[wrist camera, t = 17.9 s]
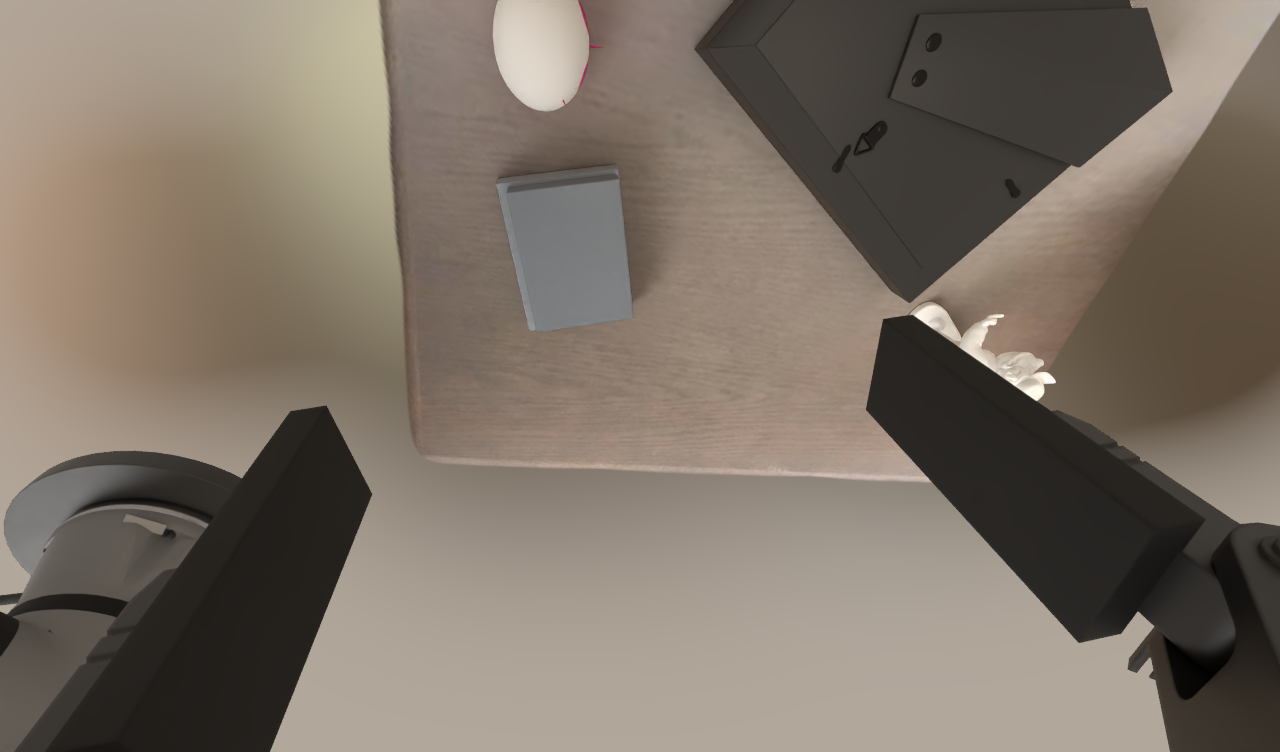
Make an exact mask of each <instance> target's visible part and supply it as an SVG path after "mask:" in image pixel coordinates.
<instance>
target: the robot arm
mask: <svg viewBox="0 0 1280 752" xmlns="http://www.w3.org/2000/svg"><path fill="white" fill-rule="evenodd" d="M866 410H867V411H868V413H869V414H870V415H871V416H872V417H873V418H874V419H875V420H876V421H877V422H878V423H879V425H880V426H881V427H882V428H883V429H884V430H885V431H886V432H887V433H888V434H889V436H890V437H891V438H892V439H893V440H894V441H895V442H896V443H897V444H898V445H899V446H900V448H901V449H902V450H903V451H904V452H905V453H906V454H907V455H908V456H909V457H910V459H911V460H912V461H913V462H914V463H915V464H916V465H917V466H918V467H919V468H920V469H921V471H922V472H923V473H924V474H925V475H926V476H927V477H928V478H929V479H930V480H931V482H932V483H933V484H934V485H935V486H936V487H937V488H938V489H939V490H940V491H941V492H942V494H943V495H944V496H945V497H946V498H947V499H948V500H949V501H950V502H951V503H952V505H953V506H954V507H955V508H956V509H957V510H958V511H959V512H960V513H961V514H962V515H963V516H964V518H965V519H966V520H967V521H968V522H969V523H970V524H971V525H972V526H973V528H974V529H975V530H976V531H977V532H978V533H979V534H980V535H981V536H982V537H983V538H984V540H985V541H986V542H987V543H988V544H989V545H990V546H991V547H992V548H993V549H994V551H995V552H996V553H997V554H998V555H999V556H1000V557H1001V558H1002V559H1003V560H1004V561H1005V562H1006V564H1007V565H1008V566H1009V567H1010V568H1011V569H1012V570H1013V571H1014V572H1015V573H1016V575H1017V576H1018V577H1019V578H1020V579H1021V580H1022V581H1023V582H1024V583H1025V584H1026V586H1027V587H1028V588H1029V589H1030V590H1031V591H1032V592H1033V593H1034V594H1035V595H1036V597H1037V598H1038V599H1039V600H1040V601H1041V602H1042V603H1043V604H1044V605H1045V606H1046V607H1047V608H1048V610H1049V611H1050V612H1051V613H1052V614H1053V615H1054V616H1055V617H1056V618H1057V619H1058V621H1059V622H1060V623H1061V624H1062V625H1063V626H1064V627H1065V628H1066V629H1067V630H1068V632H1069V633H1070V634H1071V635H1072V636H1073V637H1074V638H1075V639H1076V640H1077V641H1078V642H1079V643H1081V642H1085V641H1090V640H1094V639H1099V638H1104V637H1108V636H1113V635H1117V634H1121V633H1122V632H1123V630H1124V629H1125V628H1126V626H1127V625H1128V623H1129V622H1130V621H1131V620H1132V618H1133V617H1134V616H1135V614H1136V613H1137V612H1138V611H1139V612H1140V613H1141V614H1142V615H1143V616H1144V617H1145V618H1146V619H1147V620H1148V621H1149V622H1150V623H1151V624H1153V625H1154V626H1155V627H1154V628H1153V629H1152V631H1151V632H1150V633H1149V634H1148V636H1147V637H1146V638H1145V639H1144V641H1143V642H1142V643H1141V644H1140V646H1139V647H1138V648H1137V650H1136V651H1135V652H1134V653H1133V654H1132V656H1131V657H1130V658H1129V664H1128V670H1130V671H1133V672H1136V673H1137V672H1138V670H1139V669H1140V668H1141V667H1142V665H1143V664H1144V663H1145V662H1146V661H1147V659H1148V658H1149V657H1151V660H1152V665H1153V672H1152V673H1151V674H1150V676H1149V677H1150V678H1152V679H1154V680H1156V685H1157V689H1158V694H1159V699H1160V704H1161V709H1162V714H1163V719H1164V724H1165V729H1166V733H1167V739H1168V744H1169V748H1170V752H1280V526H1275V525H1269V524H1263V523H1249V524H1239V523H1238V522H1236V521H1234V520H1232V519H1231V518H1229V517H1228V516H1226V515H1225V514H1223V513H1222V512H1221V511H1219V510H1217V509H1216V508H1215V507H1213V506H1211V505H1210V504H1209V503H1207V502H1206V501H1204V500H1203V499H1201V498H1200V497H1198V496H1197V495H1195V494H1194V493H1192V492H1191V491H1189V490H1188V489H1186V488H1185V487H1183V486H1182V485H1180V484H1179V483H1177V482H1176V481H1174V480H1173V479H1171V478H1170V477H1168V476H1167V475H1165V474H1164V473H1162V472H1161V471H1159V470H1158V469H1156V468H1155V467H1153V466H1152V465H1150V464H1149V463H1147V462H1146V461H1145V462H1141V461H1140V457H1138V456H1137V455H1136V454H1134V453H1133V452H1131V451H1130V450H1128V449H1126V448H1125V447H1124V446H1118V445H1117V442H1116V441H1115V440H1113V439H1111V438H1110V437H1109V436H1107V435H1106V434H1104V433H1103V432H1101V431H1100V430H1098V429H1097V428H1095V427H1094V426H1092V425H1091V424H1089V423H1086V422H1084V421H1081V420H1079V419H1077V418H1075V417H1072V416H1070V415H1068V414H1065V413H1063V412H1061V411H1058V410H1057V411H1050V410H1049V409H1047V408H1046V407H1044V406H1043V405H1041V404H1040V403H1038V402H1037V401H1036V400H1034V399H1033V398H1031V397H1030V396H1029V395H1027V394H1026V393H1024V392H1023V391H1021V390H1020V389H1019V388H1017V387H1016V386H1014V385H1013V384H1011V383H1010V382H1008V381H1007V380H1006V379H1004V378H1003V377H1001V376H1000V375H998V374H997V373H996V372H994V371H993V370H991V369H990V368H988V367H987V366H986V365H984V364H983V363H981V362H980V361H978V360H977V359H975V358H974V357H973V356H971V355H970V354H968V353H967V352H965V351H964V350H963V349H961V348H960V347H958V346H957V345H955V344H954V343H953V342H951V341H950V340H948V339H947V338H945V337H944V336H943V335H941V334H940V333H938V332H937V331H935V330H934V329H932V328H931V327H930V326H928V325H927V324H925V323H924V322H922V321H921V320H920V319H918V318H917V317H915V316H914V315H907V316H900V317H894V318H888V319H883V323H882V328H881V333H880V338H879V344H878V349H877V354H876V360H875V365H874V370H873V375H872V381H871V386H870V391H869V396H868V402H867V407H866ZM371 496H372V493H371V491H370V489H369V487H368V485H367V483H366V481H365V479H364V477H363V476H362V473H361V472H360V470H359V468H358V466H357V464H356V462H355V460H354V458H353V456H352V454H351V452H350V450H349V449H348V446H347V444H346V442H345V441H344V439H343V437H342V435H341V433H340V431H339V429H338V427H337V426H336V423H335V421H334V419H333V417H332V416H331V414H330V412H329V410H328V408H327V406H321V407H315V408H309V409H302V410H296V411H291V412H290V413H289V414H288V415H287V417H286V418H285V420H284V421H283V422H282V424H281V425H280V427H279V428H278V429H277V431H276V432H275V433H274V435H273V436H272V438H271V439H270V440H269V442H268V443H267V445H266V446H265V447H264V449H263V450H262V451H261V453H260V454H259V456H258V457H257V459H256V460H255V461H254V463H253V464H252V465H251V467H250V468H249V469H248V471H247V472H246V474H245V475H244V476H243V478H242V479H241V481H240V482H239V483H238V485H237V486H236V488H235V489H234V490H233V492H232V493H231V494H230V496H229V497H228V499H227V500H226V501H225V503H224V504H223V506H222V507H221V508H220V510H219V511H218V512H217V514H216V515H215V517H214V518H213V517H211V516H209V515H207V514H205V513H203V512H201V511H198V510H196V509H193V508H190V507H187V506H184V505H181V504H177V503H173V502H168V501H163V500H157V499H148V498H118V499H110V500H105V501H100V502H97V503H93V504H90V505H88V506H85V507H83V508H81V509H79V510H78V511H76V512H75V513H73V514H72V515H71V516H70V517H68V518H67V519H66V520H65V521H64V522H63V523H62V524H61V525H60V526H59V527H58V528H57V529H56V530H55V531H54V533H53V534H52V535H51V537H50V538H49V539H48V541H47V542H46V544H45V546H44V548H43V551H42V554H41V556H40V561H39V563H38V565H37V566H36V568H35V570H34V572H33V574H32V576H31V578H30V580H29V582H28V584H27V586H26V588H25V590H24V592H23V593H17V594H10V595H1V596H0V605H7V604H15V603H17V605H16V606H15V607H14V608H13V609H12V610H11V611H10V612H9V613H8V614H4V613H2V612H0V752H270V750H271V748H272V745H273V743H274V740H275V737H276V735H277V733H278V730H279V727H280V725H281V722H282V720H283V718H284V715H285V712H286V710H287V707H288V705H289V702H290V700H291V697H292V695H293V692H294V690H295V687H296V684H297V682H298V680H299V677H300V675H301V672H302V670H303V667H304V665H305V662H306V660H307V657H308V655H309V652H310V649H311V647H312V644H313V642H314V639H315V637H316V634H317V632H318V629H319V627H320V624H321V622H322V619H323V617H324V614H325V612H326V609H327V607H328V604H329V601H330V599H331V597H332V594H333V592H334V589H335V587H336V584H337V581H338V579H339V576H340V574H341V571H342V569H343V566H344V564H345V561H346V559H347V556H348V554H349V551H350V549H351V546H352V544H353V541H354V539H355V536H356V534H357V531H358V529H359V526H360V524H361V521H362V519H363V516H364V513H365V511H366V508H367V506H368V503H369V501H370V498H371Z"/></svg>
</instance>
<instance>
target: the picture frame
mask: <svg viewBox="0 0 1280 752" xmlns="http://www.w3.org/2000/svg"><path fill="white" fill-rule="evenodd" d="M695 50H696V52H697V53H698V54H699V55H700V56H701V58H702V59H703V60H704V61H705V63H706V64H707V65H708V66H709V67H710V69H711V70H712V71H713V72H714V74H715V75H716V76H717V77H718V79H719V80H720V81H721V82H722V83H723V85H724V86H725V87H726V88H727V90H728V91H729V92H730V93H731V95H732V96H733V97H734V98H735V99H736V101H737V102H738V103H739V104H740V106H741V107H742V108H743V109H744V110H745V112H746V113H747V114H748V115H749V117H750V118H751V119H752V120H753V122H754V123H755V124H756V125H757V126H758V128H759V129H760V130H761V131H762V133H763V134H764V135H765V136H766V138H767V139H768V140H769V141H770V142H771V144H772V145H773V146H774V147H775V149H776V150H777V151H778V152H779V154H780V155H781V156H782V157H783V158H784V160H785V161H786V162H787V163H788V165H789V166H790V167H791V168H792V169H793V171H794V172H795V173H796V174H797V176H798V177H799V178H800V179H801V181H802V182H803V183H804V184H805V185H806V187H807V188H808V189H809V190H810V192H811V193H812V194H813V195H814V197H815V198H816V199H817V200H818V201H819V203H820V204H821V205H822V206H823V208H824V209H825V210H826V211H827V213H828V214H829V215H830V216H831V217H832V219H833V220H834V221H835V222H836V224H837V225H838V226H839V227H840V228H841V230H842V231H843V232H844V233H845V235H846V236H847V237H848V238H849V240H850V241H851V242H852V243H853V244H854V246H855V247H856V248H857V249H858V251H859V252H860V253H861V254H862V256H863V257H864V258H865V259H866V260H867V262H868V263H869V264H870V265H871V267H872V268H873V269H874V270H875V272H876V273H877V274H878V275H879V276H880V278H881V279H882V280H883V281H884V283H885V284H886V285H887V286H888V287H889V289H890V290H891V291H892V292H894V293H895V294H897V295H898V296H900V297H901V298H903V299H904V300H906V301H907V302H909V303H911V302H912V301H913V300H914V299H915V298H916V297H918V296H919V295H920V294H921V293H922V292H923V291H925V290H926V289H927V288H928V287H929V286H930V285H932V284H933V283H934V282H935V281H936V280H937V279H939V278H940V277H941V276H942V275H943V274H944V273H946V272H947V271H948V270H949V269H950V268H951V267H953V266H954V265H955V264H956V263H957V262H958V261H960V260H961V259H962V258H963V257H964V256H965V255H967V254H968V253H969V252H970V251H971V250H972V249H974V248H975V247H976V246H977V245H978V244H980V243H981V242H982V241H983V240H984V239H985V238H987V237H988V236H989V235H990V234H991V233H992V232H994V231H995V230H996V229H997V228H998V227H999V226H1001V225H1002V224H1003V223H1004V222H1005V221H1006V220H1008V219H1009V218H1010V217H1011V216H1012V215H1013V214H1015V213H1016V212H1017V211H1018V210H1019V209H1020V208H1022V207H1023V206H1024V205H1025V204H1026V203H1027V202H1029V201H1030V200H1031V199H1032V198H1033V197H1034V196H1036V195H1037V194H1038V193H1039V192H1040V191H1041V190H1043V189H1044V188H1045V187H1046V186H1047V185H1048V184H1050V183H1051V182H1052V181H1053V180H1054V179H1055V178H1057V177H1058V176H1059V175H1060V174H1061V173H1062V172H1064V171H1065V170H1066V169H1067V168H1068V167H1069V166H1071V165H1073V166H1075V167H1081V166H1082V165H1083V164H1085V163H1086V162H1087V161H1088V160H1089V159H1091V158H1092V157H1093V156H1094V155H1096V154H1097V153H1098V152H1099V151H1100V150H1102V149H1103V148H1104V147H1105V146H1107V145H1108V144H1109V143H1110V142H1111V141H1113V140H1114V139H1115V138H1116V137H1118V136H1119V135H1120V134H1121V133H1123V132H1124V131H1125V130H1126V129H1127V128H1129V127H1130V126H1131V125H1132V124H1134V123H1135V122H1136V121H1137V120H1138V119H1140V118H1141V117H1142V116H1143V115H1145V114H1146V113H1147V112H1148V111H1149V110H1151V109H1152V108H1153V107H1154V106H1156V105H1157V104H1158V103H1159V102H1161V101H1162V100H1163V99H1164V98H1165V97H1167V96H1168V95H1169V94H1170V93H1172V92H1173V91H1172V88H1171V84H1170V81H1169V78H1168V74H1167V71H1166V68H1165V64H1164V61H1163V58H1162V55H1161V51H1160V48H1159V45H1158V41H1157V38H1156V35H1155V32H1154V28H1153V25H1152V22H1151V18H1150V15H1149V12H1148V8H1131V5H1130V2H1129V0H734V2H733V3H732V4H731V5H730V6H729V8H728V9H727V10H726V11H725V13H724V14H723V15H722V16H721V17H720V19H719V20H718V21H717V22H716V23H715V25H714V26H713V27H712V28H711V29H710V31H709V32H708V33H707V34H706V35H705V37H704V38H703V39H702V40H701V42H700V43H699V44H698V45H697V46H696V48H695Z"/></svg>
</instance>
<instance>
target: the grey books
mask: <svg viewBox="0 0 1280 752" xmlns="http://www.w3.org/2000/svg"><path fill="white" fill-rule="evenodd" d="M496 187H497V191H498V196H499V200H500V204H501V209H502V213H503V218H504V222H505V226H506V231H507V235H508V239H509V244H510V248H511V253H512V257H513V261H514V266H515V270H516V274H517V279H518V283H519V288H520V292H521V296H522V301H523V305H524V309H525V314H526V318H527V323H528V327H529V330H536V331H537V332H543V331H549V330H556V329H563V328H570V327H576V326H583V325H590V324H597V323H603V322H610V321H617V320H624V319H630V318H634V314H633V304H632V295H631V285H630V275H629V265H628V256H627V246H626V236H625V227H624V217H623V207H622V197H621V188H620V178H619V169H618V168H617V166H616V165H615V164H612V165H604V166H596V167H588V168H579V169H571V170H563V171H555V172H547V173H538V174H530V175H522V176H514V177H506V178H498V180H497V183H496Z"/></svg>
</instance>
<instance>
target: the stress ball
mask: <svg viewBox="0 0 1280 752" xmlns="http://www.w3.org/2000/svg"><path fill="white" fill-rule="evenodd" d="M493 44H494V51H495V56H496V60H497V64H498V67H499V70H500V72H501V75H502V77H503V79H504V81H505V82H506V84H507V86H508V87H509V89H510V90H511V92H512V93H513V94H514V95H515V96H516V97H517V98H518V99H519V100H520V101H521V102H522V103H524V104H525V105H527V106H528V107H530V108H533V109H535V110H539V111H552V110H556V109H559V108H560V107H562V106H564V105H566V104H567V103H568V102H569V101H570V100H571V99H572V98H573V97H574V96H575V94H576V93H577V91H578V90H579V88H580V86H581V84H582V82H583V79H584V76H585V73H586V69H587V65H588V58H589V47H590V48H603V47H596V46H589V34H588V27H587V22H586V18H585V15H584V12H583V9H582V6H581V4H580V2H579V0H498V2H497V5H496V9H495V14H494V20H493ZM566 107H567V106H566Z"/></svg>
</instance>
